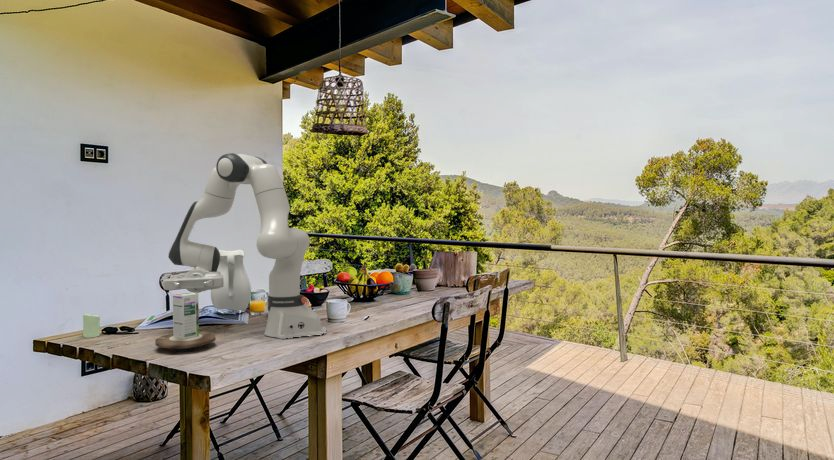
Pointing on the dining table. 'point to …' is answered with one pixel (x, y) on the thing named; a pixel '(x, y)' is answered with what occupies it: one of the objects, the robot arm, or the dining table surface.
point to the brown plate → (185, 340)
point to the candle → (91, 326)
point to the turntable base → (185, 348)
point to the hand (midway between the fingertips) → (191, 285)
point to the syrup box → (185, 315)
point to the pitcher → (232, 282)
